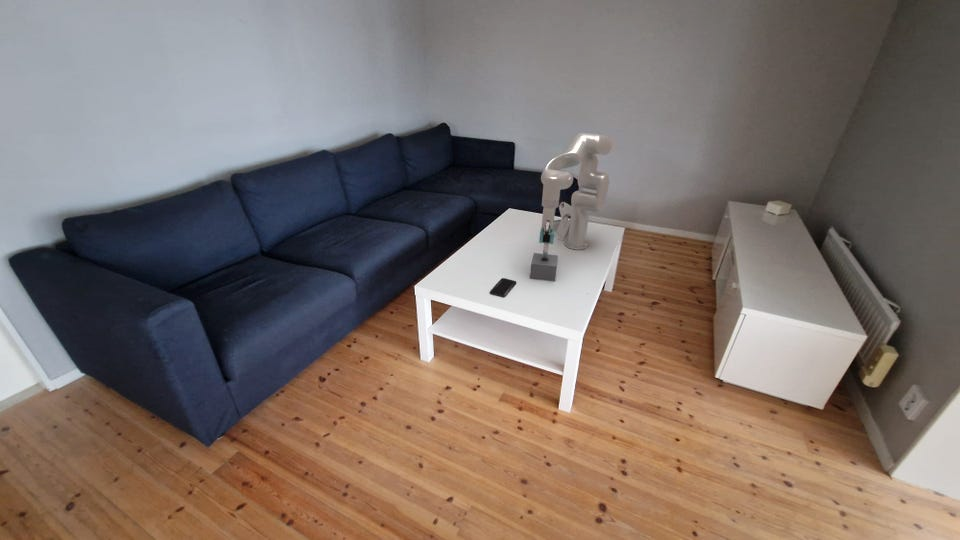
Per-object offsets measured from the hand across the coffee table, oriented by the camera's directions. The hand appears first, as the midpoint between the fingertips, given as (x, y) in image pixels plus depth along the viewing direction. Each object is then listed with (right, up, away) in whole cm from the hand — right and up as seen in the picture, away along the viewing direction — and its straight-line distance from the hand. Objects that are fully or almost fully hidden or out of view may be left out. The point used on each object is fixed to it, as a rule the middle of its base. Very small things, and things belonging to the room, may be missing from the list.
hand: (546, 238), depth 184 cm
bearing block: (0, -17, +9) cm, 19 cm away
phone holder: (+17, +7, +52) cm, 56 cm away
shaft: (0, -11, +6) cm, 13 cm away
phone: (-21, -24, -3) cm, 31 cm away
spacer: (0, -1, 0) cm, 1 cm away
